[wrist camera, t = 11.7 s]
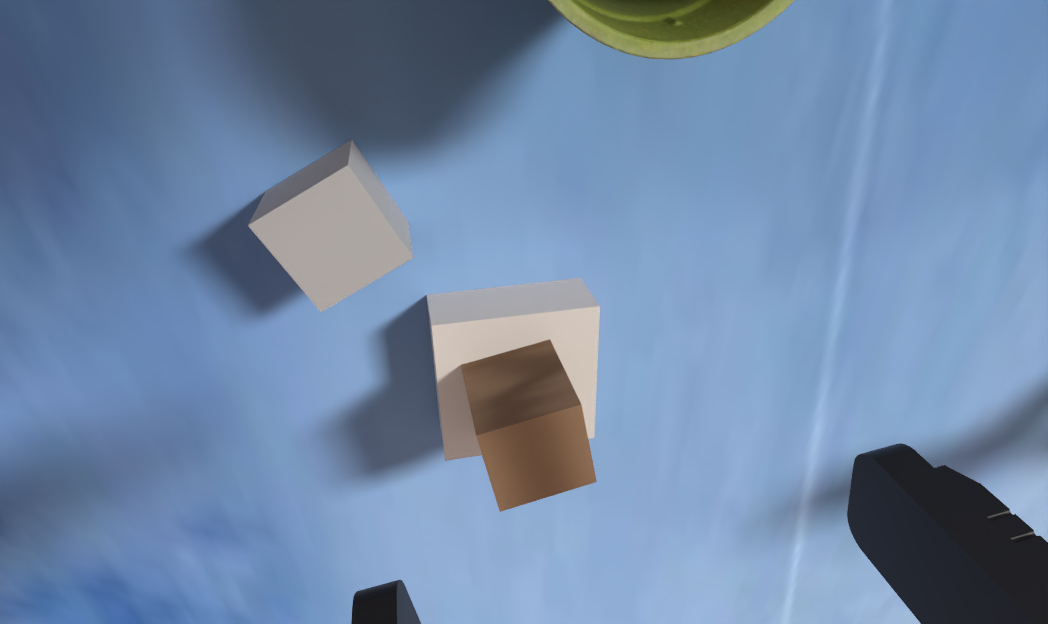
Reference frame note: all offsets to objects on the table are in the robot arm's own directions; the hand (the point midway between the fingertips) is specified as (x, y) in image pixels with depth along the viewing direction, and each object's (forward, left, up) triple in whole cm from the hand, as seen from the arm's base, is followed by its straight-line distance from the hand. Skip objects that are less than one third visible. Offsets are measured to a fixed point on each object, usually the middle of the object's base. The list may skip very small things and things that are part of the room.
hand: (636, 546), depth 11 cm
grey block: (+7, +1, -25) cm, 26 cm away
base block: (-1, +12, -25) cm, 28 cm away
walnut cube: (0, +12, -21) cm, 24 cm away
